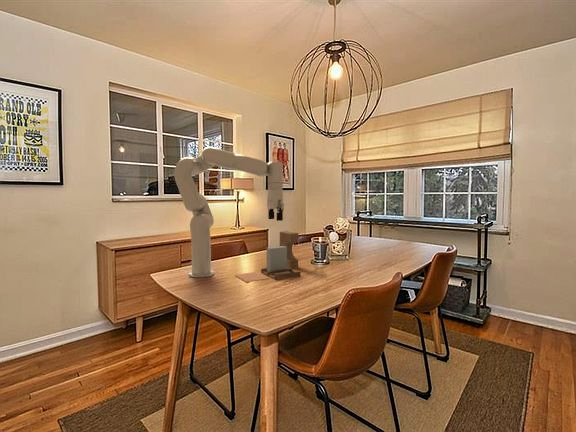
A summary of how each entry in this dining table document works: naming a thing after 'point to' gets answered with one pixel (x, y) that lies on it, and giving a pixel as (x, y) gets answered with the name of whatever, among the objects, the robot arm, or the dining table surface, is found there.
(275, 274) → the upper offcut slab
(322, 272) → the dining table surface
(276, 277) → the tray
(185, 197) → the robot arm
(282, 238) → the decorative block
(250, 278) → the terracotta mat
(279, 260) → the grey rectangular block
